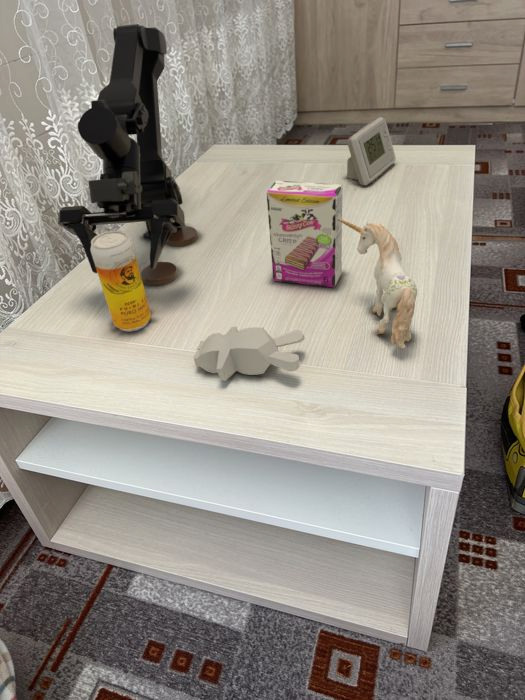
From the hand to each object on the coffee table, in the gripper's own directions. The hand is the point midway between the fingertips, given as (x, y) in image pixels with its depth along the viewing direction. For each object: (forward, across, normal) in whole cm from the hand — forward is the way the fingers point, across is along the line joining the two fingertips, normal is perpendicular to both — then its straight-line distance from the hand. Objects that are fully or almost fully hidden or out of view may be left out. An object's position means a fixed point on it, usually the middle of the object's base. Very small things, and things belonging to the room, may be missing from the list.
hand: (123, 270), depth 86 cm
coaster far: (-12, +4, +24) cm, 27 cm away
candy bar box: (0, +29, +12) cm, 31 cm away
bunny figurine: (+16, +20, -4) cm, 26 cm away
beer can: (+8, 0, +4) cm, 9 cm away
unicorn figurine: (+10, +38, +2) cm, 39 cm away
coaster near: (-2, +2, +14) cm, 15 cm away
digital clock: (-31, +45, +43) cm, 70 cm away
